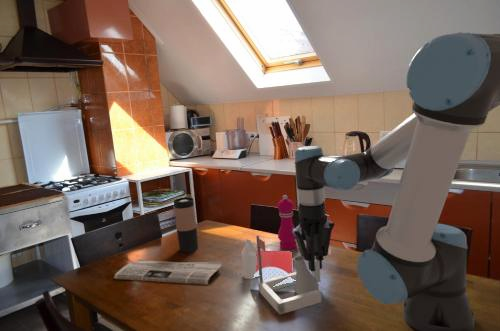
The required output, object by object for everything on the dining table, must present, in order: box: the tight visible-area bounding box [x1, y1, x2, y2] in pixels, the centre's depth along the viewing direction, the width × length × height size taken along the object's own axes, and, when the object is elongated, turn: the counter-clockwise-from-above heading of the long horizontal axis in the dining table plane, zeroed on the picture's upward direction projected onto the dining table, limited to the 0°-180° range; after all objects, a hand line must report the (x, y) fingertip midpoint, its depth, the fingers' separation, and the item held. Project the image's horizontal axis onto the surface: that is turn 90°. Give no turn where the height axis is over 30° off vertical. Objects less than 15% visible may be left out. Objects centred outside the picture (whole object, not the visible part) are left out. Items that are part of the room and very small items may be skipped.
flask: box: [292, 254, 320, 295], centre depth 106 cm, size 7×7×10 cm
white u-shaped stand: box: [256, 235, 323, 315], centre depth 104 cm, size 14×12×17 cm
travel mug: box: [173, 196, 199, 253], centre depth 145 cm, size 8×8×20 cm
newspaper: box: [113, 259, 224, 286], centre depth 126 cm, size 35×12×4 cm, turn 74°
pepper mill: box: [277, 194, 298, 251], centre depth 140 cm, size 7×7×20 cm
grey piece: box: [240, 239, 258, 280], centre depth 119 cm, size 6×12×6 cm
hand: (316, 280), depth 109 cm, fingers closed
